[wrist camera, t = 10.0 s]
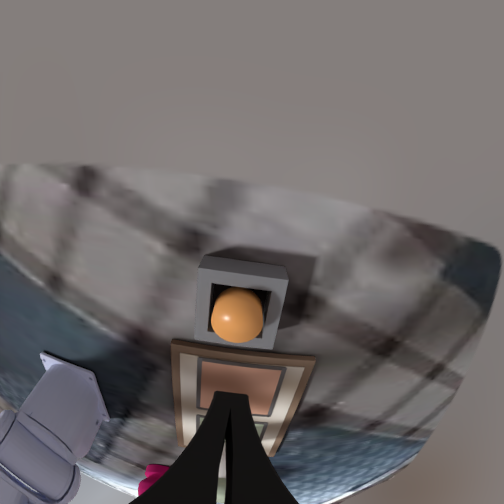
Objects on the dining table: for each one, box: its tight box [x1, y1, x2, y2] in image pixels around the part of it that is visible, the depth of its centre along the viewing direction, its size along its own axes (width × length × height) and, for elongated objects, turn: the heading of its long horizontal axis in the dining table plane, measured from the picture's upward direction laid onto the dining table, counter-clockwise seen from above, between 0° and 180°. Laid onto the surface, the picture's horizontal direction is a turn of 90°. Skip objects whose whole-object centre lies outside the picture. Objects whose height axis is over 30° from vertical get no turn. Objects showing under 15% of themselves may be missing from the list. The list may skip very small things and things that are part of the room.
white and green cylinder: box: [216, 443, 226, 503], centre depth 21 cm, size 4×4×8 cm
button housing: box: [194, 255, 289, 349], centre depth 19 cm, size 6×6×2 cm
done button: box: [211, 287, 263, 343], centre depth 17 cm, size 3×3×2 cm
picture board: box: [171, 339, 316, 457], centre depth 24 cm, size 18×12×1 cm, turn 172°
